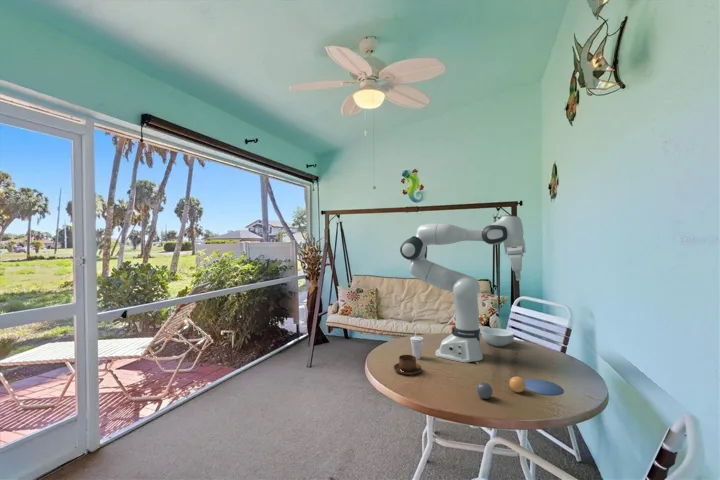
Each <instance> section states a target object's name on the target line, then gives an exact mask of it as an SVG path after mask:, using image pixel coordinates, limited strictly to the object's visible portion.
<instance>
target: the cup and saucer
mask: <svg viewBox="0 0 720 480" xmlns="http://www.w3.org/2000/svg"><path fill="white" fill-rule="evenodd" d="M400 369H401V370H402V371H404V372H401V371H400ZM393 370H395V371H396V372H397V373H398V374H402V375H416V374H418V373H420V372H421V371H422V366H421V365H420V364H417V359H416V357H415V356H413V354H402V355H400V356H399V357H398V363H395V364H394V365H393Z"/></svg>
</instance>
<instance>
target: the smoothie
mask: <svg viewBox="0 0 720 480" xmlns="http://www.w3.org/2000/svg"><path fill="white" fill-rule="evenodd" d="M423 342H424V337H422V336H417V328H415V329H414V336H411V337H410V344H411V352H412V356H415V357H416V360H421V358H422V350H423Z"/></svg>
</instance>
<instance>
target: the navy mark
mask: <svg viewBox="0 0 720 480" xmlns="http://www.w3.org/2000/svg"><path fill="white" fill-rule="evenodd" d="M523 380H524V379H523ZM524 382H525V389H526V390H527V391H529V392H533V393H535V394H539V395H544V396H557V395H561V394H563V392H564V389H563V388H562V386H560V385H558V384H557V383H554V382H551V381H548V380H544V379H540V378H539V379H537V378H530V379H525V380H524Z"/></svg>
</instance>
